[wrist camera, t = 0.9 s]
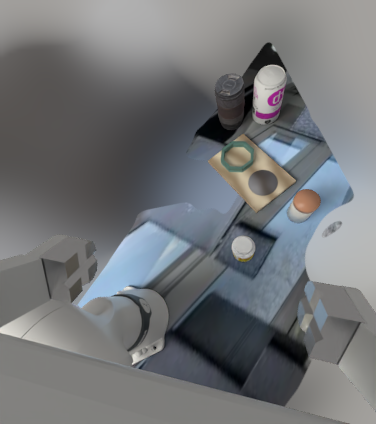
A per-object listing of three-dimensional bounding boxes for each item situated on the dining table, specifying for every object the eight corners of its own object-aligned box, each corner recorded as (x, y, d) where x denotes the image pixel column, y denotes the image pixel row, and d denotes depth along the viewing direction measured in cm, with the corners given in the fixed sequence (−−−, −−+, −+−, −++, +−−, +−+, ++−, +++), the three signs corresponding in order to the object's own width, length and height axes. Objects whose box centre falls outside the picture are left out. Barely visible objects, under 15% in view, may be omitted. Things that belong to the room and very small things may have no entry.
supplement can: (284, 116, 73) (294, 75, 59) (261, 130, 73) (266, 92, 59) (268, 100, 76) (275, 58, 62) (247, 113, 76) (248, 74, 62)
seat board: (256, 213, 65) (257, 209, 62) (208, 162, 73) (207, 157, 70) (295, 182, 65) (297, 177, 62) (243, 136, 74) (243, 129, 71)
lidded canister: (297, 227, 61) (307, 216, 52) (282, 212, 63) (289, 199, 54) (313, 214, 62) (326, 201, 52) (297, 200, 64) (307, 184, 54)
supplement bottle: (258, 251, 62) (261, 244, 52) (244, 266, 61) (245, 262, 52) (241, 237, 64) (241, 228, 54) (228, 252, 63) (226, 245, 54)
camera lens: (223, 109, 79) (219, 71, 65) (247, 113, 76) (248, 74, 62) (215, 129, 77) (210, 93, 63) (239, 133, 74) (239, 97, 60)
